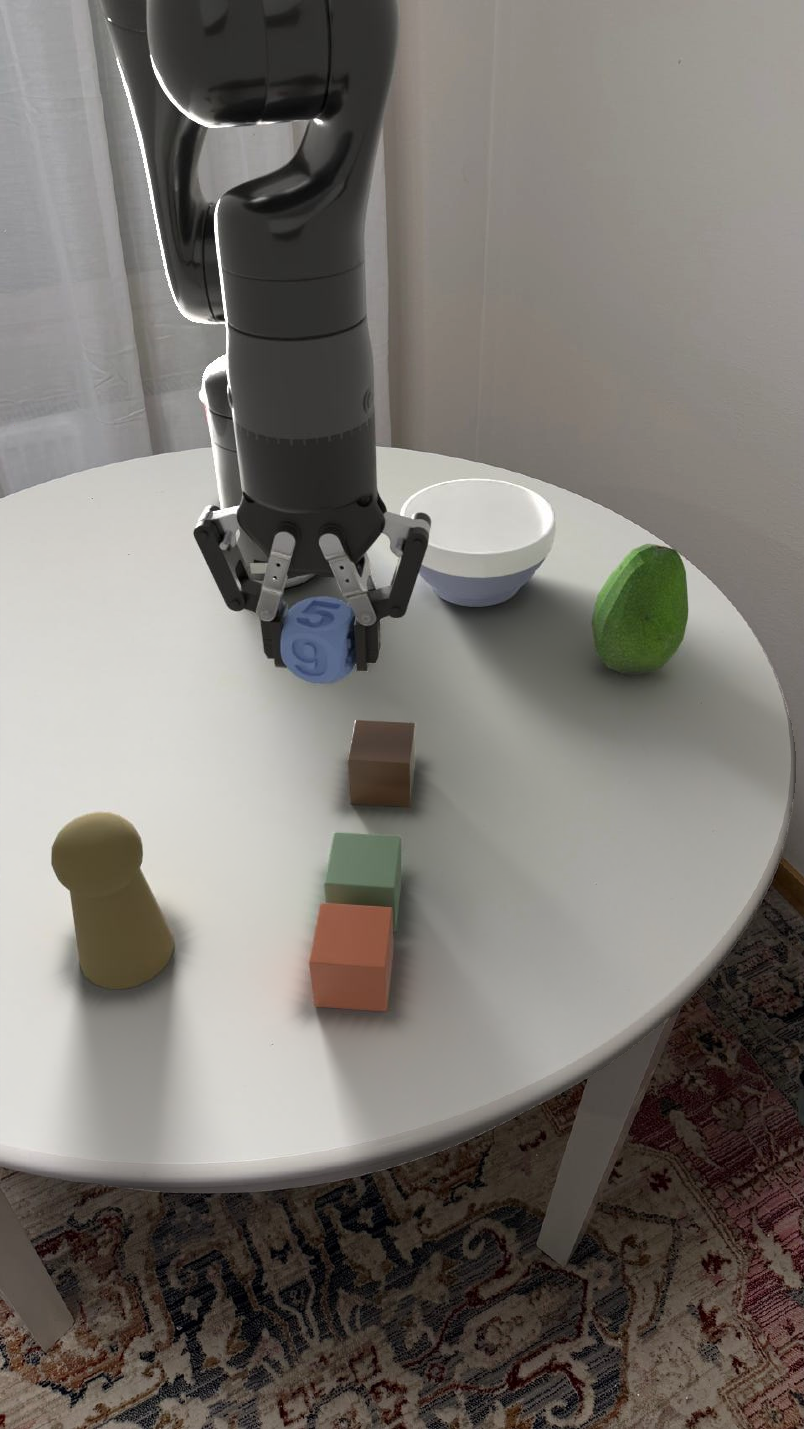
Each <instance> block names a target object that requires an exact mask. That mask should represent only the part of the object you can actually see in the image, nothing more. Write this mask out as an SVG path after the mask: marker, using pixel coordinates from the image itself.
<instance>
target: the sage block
mask: <svg viewBox="0 0 804 1429" xmlns="http://www.w3.org/2000/svg"><path fill="white" fill-rule="evenodd" d="M330 845H331V846H330V850H329V856H328V862H327V866H326V871H325V877H324V883H323V886H324V897H325V903H330V904H346V905H362V906H378V907H392V911H393V933H396V932H397V927H398V917H399V909H400V900H401V892H402V884H403V883H402V882H403V866H402V864H403V863H402V860H403V859H402V836H401V835H394V834H393V835H392V834H373V833H360V832H359V833H358V832H343V831H342V832H341V831H340V832H339V831H334V832H333V835H332V840H331V844H330Z"/></svg>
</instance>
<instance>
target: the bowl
mask: <svg viewBox="0 0 804 1429" xmlns="http://www.w3.org/2000/svg"><path fill="white" fill-rule="evenodd" d="M419 512H421V513H425V514H427V515H428V516H429V517H430V519H431V528H430V534H429V541H428V546H427V549H426V552H425V555H424V558H423V561H422V564H421V567H420V571H419V574H418V575H419V576H420V577H421V578H422V580H424V581H425V582H426V583H428V585H429V586H430V588H431V590H432V591H433V592H434V594H436V595H437V596H438V597H439V598H441V599H443V600H444V601H446V602H449V603H451V604H454V605H458V606H463V607H469V608H471V607H473V608H474V607H475V608H477V607H478V608H481V607H489V606H495V605H498V604H502V603H504V602H506V601H508V600H510V599H511V598H513V597H514V596H515V595H516V594H517V592H518V591H519V590H520V589H521V587H522V586H524V585H525V584H527V582H528V581H530V580H531V579H532V577H533V576H534V575H535V573H536V571H537V570H538V569H539V568H540V567H541V566H542V564H543V563H544V562H545V560H546V558H547V557H548V555H549V554H550V552H551V551H552V549H553V544H554V541H555V536H556V530H557V529H556V526H557V525H556V513H555V511H554V509H553V507H552V505H551V504H550V503H549V502H548V501H547V500H546V499H545V498H544V497H542V496H541V495H540V494H538V493H537V492H535V491H533V490H532V489H529V488H527V487H525V486H521V485H519V484H516V483H512V482H508V481H503V480H497V479H489V478H463V479H454V480H448V481H442V482H439V483H435V484H432V485H430V486H427V487H425V488H422V489H420V490H419V491H417V492H416V493H414V494H412V495H411V496H410V497H409V498H408V500H406V501H405V503H404V504H403V506H402V508H401V509H400V515H401V516H404V517H408V518H412V516H413V515H414V514H416V513H419Z"/></svg>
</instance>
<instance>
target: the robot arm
mask: <svg viewBox="0 0 804 1429" xmlns="http://www.w3.org/2000/svg"><path fill="white" fill-rule="evenodd" d="M99 2H100V7H101V11H102V14H103V17H104V22H105V24H106V27H107V32H108V34H109V37H110V38H109V39H110V41H111V45H112V48H113V51H114V54H115V58H116V61H117V65H118V68H119V71H120V74H121V78H122V82H123V86H124V89H125V92H126V96H127V98H128V103H129V107H130V110H131V114H132V118H133V121H134V125H135V129H136V133H137V134H136V135H137V137H138V141H139V146H140V149H141V154H142V158H143V163H144V168H145V173H146V178H147V179H146V180H147V183H148V188H149V194H150V200H151V204H152V209H153V214H154V220H155V224H156V230H157V236H158V240H159V245H160V250H161V256H162V260H163V266H164V269H165V275H166V278H167V281H168V286H169V288H170V291H171V294H172V297H173V299H174V302H175V304H176V306H177V307H178V310H179V311H180V313H181V314H182V315H183V317H185V318H187V319H188V320H190V321H192V322H196V323H202V324H209V325H210V324H211V325H212V324H213V325H225V328H226V354H225V355H222V356H221V357H218V358H217V359H216V360H214V361H213V362H212V363H210V364H209V365H208V366H207V367H206V369H205V371H204V373H203V376H202V377H203V378H202V384H203V388H204V395H205V402H206V408H207V415H208V420H207V423H208V422H209V425H208V430H209V429H210V430H209V435H210V440H211V448H212V454H213V463H214V469H215V475H216V483H217V491H218V496H219V503H220V507H219V506H218V505H215V504H211V505H208V506H207V505H206V507H205V508H204V509H203V512H202V513H201V515H200V517H199V519H198V521H197V523H196V526H195V527H194V529H193V537H194V539H195V542H196V545H197V546H198V548H199V550H200V552H201V554H202V556H203V558H204V560H205V563H206V565H207V567H208V569H209V571H210V573H211V576H212V577H213V580H214V582H215V585H216V586H217V588H218V591H219V592H220V594H221V597H222V599H223V601H224V603H225V605H226V607H227V608H228V609H229V610H231V611H233V612H241V611H244V610H246V611H249V612H252V613H254V614H255V615H256V616H257V618H258V619H259V623H260V630H261V638H262V646H263V653H264V654H265V656H266V658H267V659H268V660H273V661H274V667H275V668H281V669H288V668H287V667H286V665H285V664H284V662H283V660H282V657H281V634H282V628H283V624H284V621H285V618H286V615H287V613H288V611H289V603H288V602H287V601H284V599H283V598H284V597H283V595H284V592H285V589H286V588H291V587H295V586H297V585H300V584H303V583H305V582H307V581H309V580H311V579H312V578H314V577H315V576H320V577H324V578H333V579H335V581H336V583H337V585H338V587H339V590H340V592H341V594H342V596H343V597H344V598H345V599H347V601H348V603H349V606H350V607H351V608H352V610H353V612H354V615H355V617H356V619H355V623H354V638H355V657H356V665H355V670H356V672H367V673H368V672H369V668H370V664H372V665H373V664H374V665H376V664H377V662H378V660H379V657H380V654H381V653H380V652H381V647H382V631H381V630H382V629H381V628H382V627H381V620H382V619H384V618H387V617H390V618H392V619H400V618H403V617H404V616H405V614H406V612H407V610H408V608H409V603H410V600H411V597H412V595H413V592H414V589H415V586H416V584H417V583H416V582H417V579H418V576H419V575H420V574H419V571H420V567H421V564H422V561H423V558H424V555H425V552H426V549H427V546H428V541H429V534H430V528H431V519H430V517H429V516H428V515H427V514H425V513H421V512H419V513H416V514H414V515H413V516H412V518H408V517H404V516H401V514H397V513H394V512H391V511H388V508H387V506H386V504H385V502H384V501H383V499H382V497H381V496H380V493H379V489H378V469H377V437H376V435H377V434H376V406H375V404H376V403H375V373H374V372H375V371H374V356H373V349H372V342H371V337H370V332H369V331H370V330H369V323H368V312H367V311H368V310H367V288H366V287H367V286H366V282H367V281H366V250H365V248H366V247H365V233H366V232H365V229H366V220H367V211H368V205H369V199H370V193H371V186H372V180H373V174H374V169H375V163H376V158H377V153H378V148H379V144H380V139H381V134H382V131H383V130H382V129H383V126H384V121H385V118H386V114H387V110H388V104H389V101H390V96H391V92H392V88H393V83H394V79H395V73H396V67H397V61H398V56H399V49H400V48H399V46H400V37H401V36H400V35H401V12H400V1H399V0H99ZM306 121H307V123H306V127H305V131H304V133H303V136H302V138H301V140H300V143H299V145H298V147H297V150H296V152H295V153H294V154H293V156H292V157H291V158H290V159H289V160H288V161H287V162H286V163H284V164H282V166H280V167H277V168H276V169H275V170H272V171H270V172H268V173H267V172H266V173H264V174H261V175H259V176H256V177H254V178H251V179H249V180H246V181H244V182H241V183H240V184H238V185H235V186H234V187H232V188H230V189H228V190H227V191H225V192H224V194H223V195H222V196H221V197H220V198H219V200H216V201H214V200H207V199H206V198H205V196H204V194H203V192H202V189H201V183H200V176H199V175H200V174H199V163H200V158H201V155H202V154H201V153H202V149H203V147H204V143H205V140H206V136H207V133H208V129H209V128H216V129H228V128H230V129H231V128H242V127H251V126H252V127H253V126H262V125H263V126H264V125H274V124H283V123H295V122H296V123H297V122H306ZM382 534H384V535H385V536H387V537H388V539H389V550H390V552H391V553H392V554H393V555H395V556H396V557H397V562H396V565H395V569H394V571H393V575H392V578H391V581H390V585H387V586H383V587H378V584H377V582H376V580H375V578H374V576H373V573H372V568H371V567H372V566H371V561H370V558H369V555H368V550H369V549H370V548H372V545H373V544H374V543H376V541H377V540H378V538H379V537H380V536H381V535H382Z"/></svg>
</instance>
